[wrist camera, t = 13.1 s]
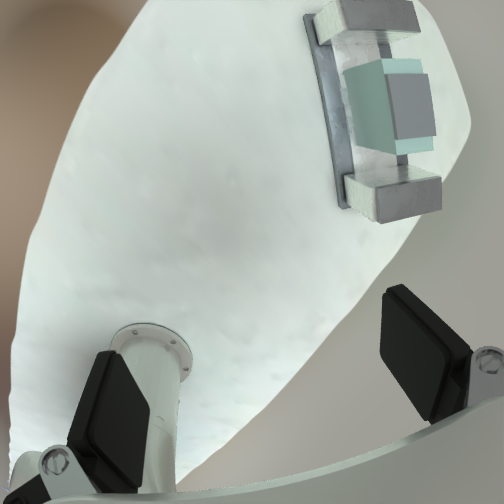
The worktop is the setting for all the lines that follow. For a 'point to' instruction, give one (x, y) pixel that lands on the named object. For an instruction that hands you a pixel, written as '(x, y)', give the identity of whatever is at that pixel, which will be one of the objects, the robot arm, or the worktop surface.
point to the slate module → (391, 106)
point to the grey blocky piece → (340, 117)
